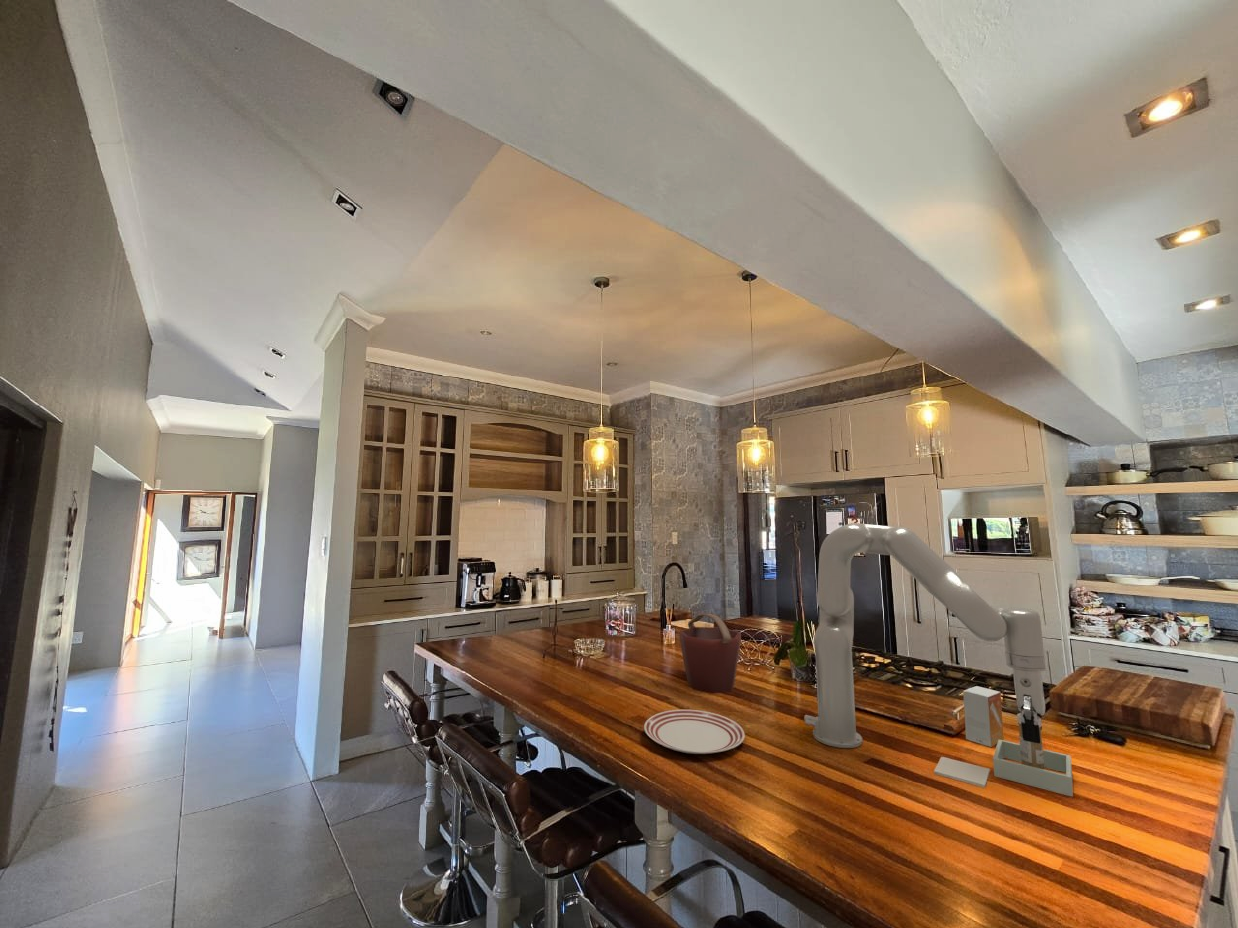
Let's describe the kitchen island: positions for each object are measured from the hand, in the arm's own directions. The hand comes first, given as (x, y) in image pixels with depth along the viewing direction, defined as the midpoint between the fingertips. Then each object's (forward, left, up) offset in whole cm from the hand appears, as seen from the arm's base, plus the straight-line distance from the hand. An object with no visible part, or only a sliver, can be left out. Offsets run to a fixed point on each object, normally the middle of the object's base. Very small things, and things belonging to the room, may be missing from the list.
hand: (1032, 734), depth 124 cm
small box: (-11, +16, -9) cm, 22 cm away
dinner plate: (-72, -36, -10) cm, 82 cm away
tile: (-13, -10, -9) cm, 19 cm away
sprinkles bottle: (0, 0, -9) cm, 9 cm away
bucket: (-92, +8, -9) cm, 93 cm away
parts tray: (0, 0, -9) cm, 9 cm away
